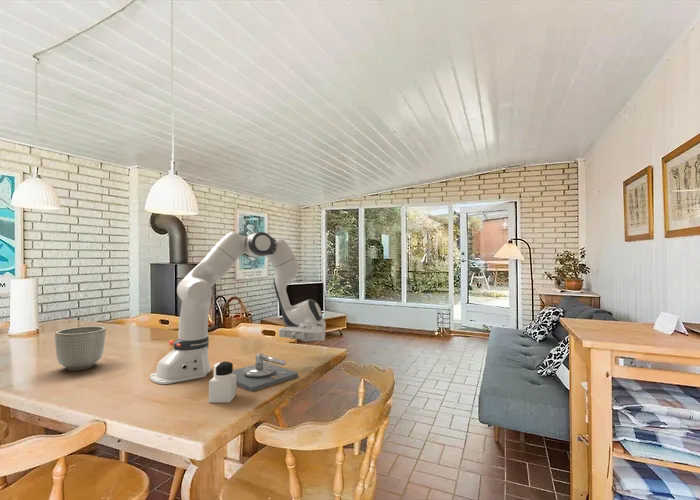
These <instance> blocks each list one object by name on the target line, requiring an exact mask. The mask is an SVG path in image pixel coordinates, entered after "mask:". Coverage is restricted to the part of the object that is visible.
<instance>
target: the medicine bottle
mask: <svg viewBox="0 0 700 500" xmlns="http://www.w3.org/2000/svg"><path fill="white" fill-rule="evenodd" d="M233 368H234V367H233V363H232V362H230V361H219V362H216V363H215V364H214V365H213V377H212V378H211V379H210V380H209V381H208V403H209V404H210V403H211V404H212V403H214V404H215V403H216V404H217V403H223V404H227V403H228V404H230V403H231V402H232V400H233V399H234V398H235V396H236V395H237V385H236V374H233V370H234V369H233Z"/></svg>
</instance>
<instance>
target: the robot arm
mask: <svg viewBox="0 0 700 500" xmlns="http://www.w3.org/2000/svg"><path fill="white" fill-rule="evenodd" d="M242 255H243V256H246V257H249V258H253V259H255V258H262V257H264V256H265V257H266V258H268V259H269V260H270V263H271V265H272V267H273V269H274V273H275V274H274V275H275V276H274V278H273V287H274V291H275V294H276V297H277V301H278V304H279V307H280V311H281V318H282V322H283V324H284V325H285V327H280V328H278V337H279V338H285V339H292V340H301V341H302V342H306V343H307V342H313V341H317V342H322V341H325V338H326V328H327V323H326V321H325V319H323V311H322V308H321V306H320V304H319V302H317V301H316V300H314V299H311V298H309V299H306V300H304V301H301V302H298V303H297V304H294V305H292V304H291V303H290V299H289V296H288V293H287V286H288V285H289V283H290V282H291V281H293V280H294V279H295V278H296V277H297V275H298V272H299V269H300V268H299V262H298V260H297V258H296V256H295V254H294V253H293V250H292V249H291V247H290V245H289V244H288V243H287V241H286V240H284V239H281V238H279V239H275V238H274V237H272V235H270V234H268V233H267V232H264V231H257V232H254V233H253V232H252V233H251V234H249V235H247V236H243V235H241V234H240V233H238V232H234V231H231V232H229V233H227V234H225V235H224V236H223V237H222V238H221V239H220V240H219V241H218V242H217V243H215V244H214V246H213V247H212V249H210V251H209V252H208V253H207V254H206V255H205V256H204V257H203V259H201V261H200V262H199V263H198V264H197V265H196V266H195V267H194V268H192V269H191V270H190V271H189V272H188V274H186V275H185V276H184V277H183V278H182V279H181V280H180V281H179V283H178V284H177V287H176V294H177V296H178V297H179V299H180V300H181V304H180V305H181V306H180V314H179V317H178V336H177V337H178V338H177V339H176V340H173V339H170V340H169V341H168V345H169V346H173V348H172V349H171V350H170V351H169V352H168V353H167V354H166V355H165V356H163V357H162V358H161V359H160V360H158V362H157V366H156V369H155V370H156V371H155V372H154V373H151V374H150V376H149V379H150V381H151V382H153V383H155V384H158V385H159V384H160V385H169V384H174V383H180V382H185V381H191V380H194V379H195V380H196V379H200V378H205V377H206V376H207V374H209V373H210V372H211V371H212V368H211V365H210V359H209V345H210V344H209V343H210V341H209V336H208V335H209V334H208V327H209V324H208V322H209V320H208V319H209V314H210V309H211V302H212V301H211V300H212V296H213V288H212V287H213V286H214V285H215V284H216V283H217V282H218V281H220V280H222V278H224V277H225V275H226V274H227V273H228V271H229V270H230V269H231V268H232V267H233V265H235V263H236V262H237V260H238V259H239V258H240V257H241V256H242Z"/></svg>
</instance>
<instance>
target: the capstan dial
mask: <svg viewBox="0 0 700 500" xmlns="http://www.w3.org/2000/svg"><path fill="white" fill-rule="evenodd" d="M263 362H267V363H270V364H274V365H278V366H279V365H280V366H286V364H287V363H286V360H285V359H280V358H277V357H273V356H269V355H264V353H256V354H255V364H256V365H255V364H253V365H252V364H251V365H252V366H251V365H248V366H249V367H248V366H245V367H246V368H245V369H244V375H245V376H247V377H252V378H260V377H267V376H270V375H272V374H274V372H275V368H274V367H273V366H271V365H263Z"/></svg>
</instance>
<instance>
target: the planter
mask: <svg viewBox="0 0 700 500" xmlns="http://www.w3.org/2000/svg"><path fill="white" fill-rule="evenodd" d="M106 331H107V328H106V327H105V326H101V325H89V326H75V327H69V328H64V329H59V330H57V331H56V332H55V333H54V344H55V353H56V354H55V355H56V360H57V362H58V363H59V365H60V366H62V367H64V368H66V369H67V370H68V371H71V372H76V371H77V372H79V371H83V370H88V369H91V368H93V367H94V365H95V364H96V363H97V362H99V360H101V358H102V356H103V355H104V350H105V343H106V333H107V332H106Z"/></svg>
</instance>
